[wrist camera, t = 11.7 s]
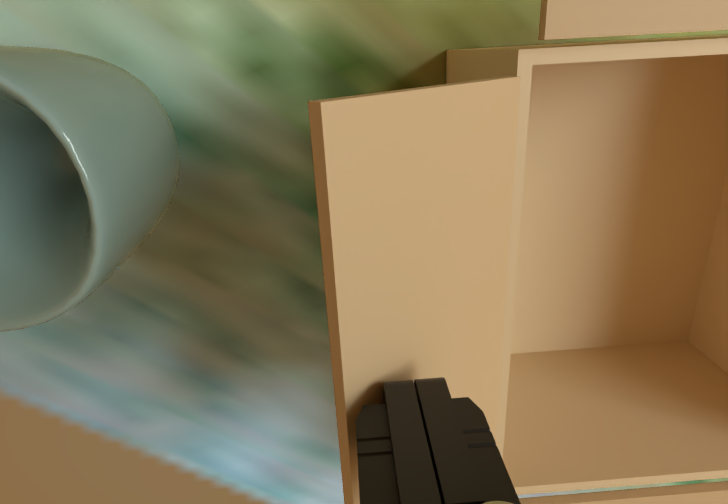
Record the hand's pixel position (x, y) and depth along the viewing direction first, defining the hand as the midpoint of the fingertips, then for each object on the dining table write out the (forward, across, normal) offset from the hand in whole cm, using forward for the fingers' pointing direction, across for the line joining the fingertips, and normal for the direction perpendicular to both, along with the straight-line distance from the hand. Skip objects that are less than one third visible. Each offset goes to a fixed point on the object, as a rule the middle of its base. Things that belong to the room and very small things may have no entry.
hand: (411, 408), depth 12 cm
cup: (+13, +12, -5) cm, 18 cm away
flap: (+1, -1, 0) cm, 1 cm away
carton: (+13, -10, 0) cm, 17 cm away
